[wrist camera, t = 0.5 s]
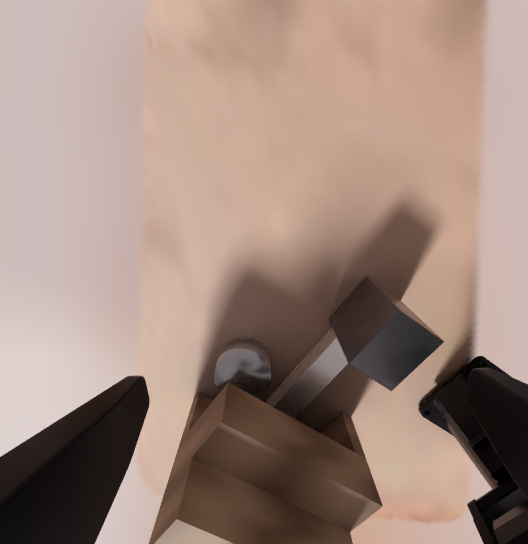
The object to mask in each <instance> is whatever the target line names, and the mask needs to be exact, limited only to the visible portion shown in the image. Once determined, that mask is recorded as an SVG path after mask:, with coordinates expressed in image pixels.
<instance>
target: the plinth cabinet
mask: <svg viewBox="0 0 528 544" xmlns="http://www.w3.org/2000/svg"><path fill="white" fill-rule="evenodd" d="M381 507H382V503H381V500H380V497H379V495H378V492H377V489H376V486H375V483H374V480H373V478H372V475H371V472H370V469H369V466H368V463H367V461H366V458H365V455H364V452H363V449H362V447H361V444H360V441H359V438H358V435H357V432H356V430H355V427H354V424H353V421H352V418H351V417H349V416H348V415H346V414H344V413H341V414H340V415H339V416H338V417H337V418H336V419H334V420H333V421H332V422H331V423H330V424H329V425H328V426H327V427H326V428H325V429H324V430H323V431H322V432H321V433H319V432H317V431H315V430H313V429H312V428H310V427H308V426H306V425H304V424H303V423H301V422H299V421H297V420H295V419H294V418H292V417H290V416H288V415H286V414H285V413H283V412H281V411H279V410H277V409H276V408H274V407H272V406H270V405H268V404H267V403H265V402H263V401H261V400H259V399H258V398H256V397H254V396H252V395H250V394H249V393H247V392H245V391H243V390H241V389H240V388H238V387H236V386H234V385H232V384H231V383H229V382H228V383H227V385H226V386H225V387H224V388H223V389H222V391H221V392H220V393H219V394H218V396H217V397H216V398H215V399H214V400H212V399H210V398H208V397H206V396H204V395H202V394H200V393H199V394H198V396H197V397H196V398H195V399H194V401H193V403H192V406H191V410H190V413H189V416H188V419H187V422H186V426H185V429H184V432H183V435H182V439H181V442H180V445H179V448H178V451H177V455H176V458H175V461H174V464H173V467H172V471H171V474H170V477H169V480H168V484H167V487H166V490H165V493H164V496H163V500H162V503H161V506H160V510H159V513H158V516H157V519H156V522H155V526H154V529H153V532H152V535H151V538H150V542H149V544H353V543H352V539H351V535H350V532H351V531H352V530H353V529H354V528H356V527H357V526H358V525H359V524H361V523H362V522H363V521H365V520H366V519H367V518H368V517H370V516H371V515H372V514H373V513H375V512H376V511H377V510H379V509H380V508H381Z"/></svg>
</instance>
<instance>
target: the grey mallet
mask: <svg viewBox="0 0 528 544" xmlns="http://www.w3.org/2000/svg"><path fill="white" fill-rule="evenodd" d="M329 321H330V323H331V325H332V327H331V328H330V330H329V331H328V332H327V333H326V334H325V335H324V336H323V337H322V339H321V340H320V341H319V342H318V343H317V344H316V345H315V346H314V347H313V349H312V350H311V351H310V352H309V353H308V354H307V355H306V356H305V357H304V359H303V360H302V361H301V362H300V363H299V364H298V365H297V366H296V368H295V369H294V370H293V371H292V372H291V373H290V374H289V375H288V376H287V378H286V379H285V380H284V381H283V382H282V383H281V384H280V385H279V387H278V388H277V389H276V390H275V391H274V392H273V393H272V394H271V395H270V397H269V398H268V399H267V404H268V405H270V406H272V407H274V408H276V409H277V410H279V411H281V412H283V413H285V414H286V415H288V416H290V417H292V418H294V419H295V418H296V417H297V416H298V415H299V414H300V413H301V412H302V411H303V410H304V408H305V407H306V406H307V405H308V404H309V403H310V402H311V401H312V400H313V399H314V398H315V397H316V396H317V395H318V394H319V393H320V392H321V391H322V390H323V389H324V388H325V387H326V386H327V385H328V384H329V383H330V382H331V381H332V379H333V378H334V377H335V376H336V375H337V374H338V373H339V372H340V371H341V370H342V369H343V368H344V367H345V366H346V365H347V364H349V365H351V366H352V367H354V368H356V369H357V370H359V371H360V372H362V373H364V374H365V375H367V376H368V377H370V378H371V379H373V380H375V381H376V382H378V383H379V384H381V385H383V386H384V387H386V388H387V389H389V390H390V391H392V390H393V389H394V388H395V387H396V386H397V385H398V384H399V383H400V382H402V381H403V380H404V379H405V378H406V377H407V376H408V375H409V374H410V373H411V372H412V371H413V370H414V369H415V368H417V367H418V366H419V365H420V364H421V363H422V362H423V361H424V360H425V359H426V358H427V357H428V356H429V355H430V354H431V353H433V352H434V351H435V350H436V349H437V348H438V347H439V346H440V345H441V344H442V343H443V342H444V341H443V340H442V339H441V338H440V337H439V336H438V335H437V334H436V333H435V332H433V331H432V330H431V329H430V328H429V327H428V326H427V325H426V324H425V323H424V322H423V321H422V320H421V319H420V318H419V317H417V316H416V315H415V314H414V313H413V312H412V311H411V310H410V309H409V308H408V307H407V306H406V305H405V304H404V303H403V302H402V301H400V300H399V299H398V298H396V297H395V296H393V295H392V294H391V293H389V292H388V291H386V290H385V289H384V288H382V287H381V286H380V285H378V284H377V283H375V282H374V281H373V280H371V279H370V278H369V277H367V276H366V277H365V278H364V280H363V281H362V282H361V283H360V284H359V285H358V286H357V287H356V289H355V290H354V291H353V292H352V293H351V294H350V295H349V297H348V298H347V299H346V300H345V301H344V302H343V303H342V304H341V306H340V307H339V308H338V309H337V310H336V311H335V312H334V314H333V315H332V316H331V317H330V318H329Z"/></svg>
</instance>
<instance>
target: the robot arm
mask: <svg viewBox="0 0 528 544" xmlns="http://www.w3.org/2000/svg"><path fill="white" fill-rule="evenodd" d="M480 363H481V364H480ZM148 408H149V395H148V391H147V386H146V381H145V378H144V377H143V376H128V377H126V378H124V379H123V380H121V381H120V382H118V383H117V384H115V385H113V386H112V387H110V388H108V389H107V390H105V391H104V392H102V393H101V394H99V395H97V396H96V397H94V398H93V399H91V400H90V401H88V402H87V403H85V404H83V405H82V406H80V407H78V408H77V409H75V410H74V411H72V412H71V413H69V414H67V415H66V416H64V417H63V418H61V419H60V420H58V421H56V422H55V423H53V424H52V425H50V426H49V427H47V428H45V429H44V430H42V431H41V432H39V433H37V434H36V435H34V436H33V437H31V438H30V439H28V440H27V441H25V442H23V443H22V444H20V445H19V446H17V447H15V448H14V449H12V450H11V451H9V452H8V453H6V454H4V455H3V456H1V457H0V544H95V542H96V539H97V537H98V535H99V532H100V530H101V528H102V526H103V524H104V521H105V519H106V517H107V514H108V512H109V510H110V508H111V505H112V503H113V501H114V498H115V496H116V494H117V492H118V490H119V487H120V485H121V482H122V480H123V478H124V476H125V474H126V471H127V469H128V467H129V464H130V461H131V459H132V456H133V453H134V450H135V447H136V444H137V441H138V438H139V435H140V432H141V429H142V426H143V423H144V420H145V417H146V414H147V411H148ZM419 412H420V413H421V415H422V416H423V417H424V418H426V419H428V420H429V421H431V422H432V423H434V424H436V425H437V426H439V427H440V428H442V429H444V430H445V431H447V432H448V433H450V434H452V435H453V436H454V437H455V438H456V439H457V441H458V442H459V444H460V445H461V446H462V448H463V449H464V450H465V452H466V453H467V455H468V456H469V457H470V459H471V460H472V462H473V463H474V464H475V466H476V467H477V468H478V470H479V471H480V473H481V474H482V475H483V477H484V478H485V480H486V481H487V482H488V484H489V485H490V486H491V488H492V490H491V491H489V492H488V493H486V494H485V495H483V496H482V497H480V498H479V499H477V500H475V499H474V500H472V501H471V502H469V503H468V504H467V505H468V508H469V510H470V512H471V514H472V516H473V520H474V523H475V525H476V527H477V529H478V532H479V534H480V536H481V538H482V541H483V543H484V544H528V384H525V383H523V382H521V381H519V380H516V379H514V378H512V377H510V376H509V375H508V374H507V373H505V372H504V371H503V370H501V369H500V368H498V367H497V366H496V365H494V364H493V363H491V362H490V361H489V360H487V359H486V358H485V357H483V356H478V357H476V358H474V359H473V360H472V361H471V362H470V363H469V364H467V365H466V366H465V367H464V368H463V369H462V370H461V371H459V372H458V373H457V374H456V375H455V376H454V377H453V378H451V379H450V380H449V381H448V382H447V383H446V384H445V385H443V386H442V387H441V388H440V389H439V390H438V391H437V392H435V393H434V394H433V395H432V396H431V397H430V398H429V399H428V400H426V401H425V402H424V403H423V404H422V405H421V406H420V407H419Z"/></svg>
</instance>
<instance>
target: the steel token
mask: <svg viewBox="0 0 528 544" xmlns="http://www.w3.org/2000/svg"><path fill="white" fill-rule="evenodd" d="M214 382H215V385H216V387H217V388H218V390H219V391H220V392H221V391H222V389H223V388H224V387H225V386H226V385H227V383H228V382H229V383H231V384H232V385H234V386H236V387H238V388H240V389H241V390H243V391H245V392H247V393H249V394H250V395H252V396H254V397H256V398H258V397H260V396H261V395H263V394H264V393H265V392H266V391H267V390H268V388H269V386H270V383H271V359H270V355H269V353H268V351H267V349H266V348H265V347H264V346H263V345H262V344H260V343H259V342H257V341H254V340H251V339H237V340H233V341H231V342H229V343H227V344H226V345H225V346H224V347H223V348H222V349H221V351H220V353H219V356H218V360H217V364H216V368H215V372H214Z"/></svg>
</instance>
